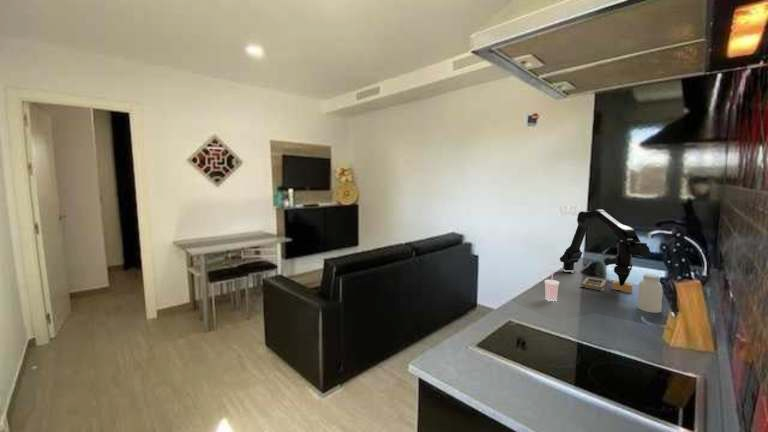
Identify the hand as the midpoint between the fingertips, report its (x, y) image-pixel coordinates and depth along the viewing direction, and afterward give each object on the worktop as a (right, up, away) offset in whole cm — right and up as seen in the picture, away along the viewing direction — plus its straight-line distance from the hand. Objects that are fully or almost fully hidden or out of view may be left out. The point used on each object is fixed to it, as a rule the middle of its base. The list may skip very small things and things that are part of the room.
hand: (622, 283), depth 166 cm
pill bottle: (-7, -6, -25) cm, 27 cm away
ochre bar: (0, -4, 0) cm, 4 cm away
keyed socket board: (-10, -3, +7) cm, 12 cm away
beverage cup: (-43, -5, -14) cm, 46 cm away
